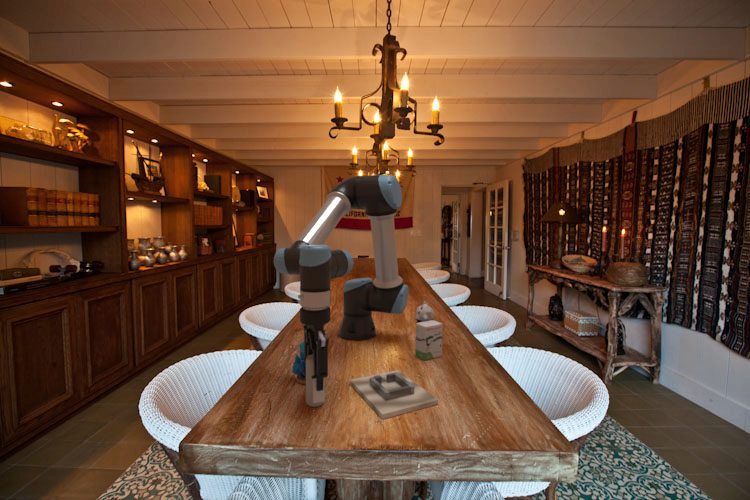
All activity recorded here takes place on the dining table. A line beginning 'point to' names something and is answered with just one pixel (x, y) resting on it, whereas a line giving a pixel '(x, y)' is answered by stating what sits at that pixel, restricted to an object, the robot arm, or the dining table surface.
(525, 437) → the dining table surface
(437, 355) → the ink box
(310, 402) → the beverage can
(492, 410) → the dining table surface
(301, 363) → the gemstone
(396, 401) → the holder board
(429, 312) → the pale grey lumpy bulb
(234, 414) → the dining table surface
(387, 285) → the robot arm
